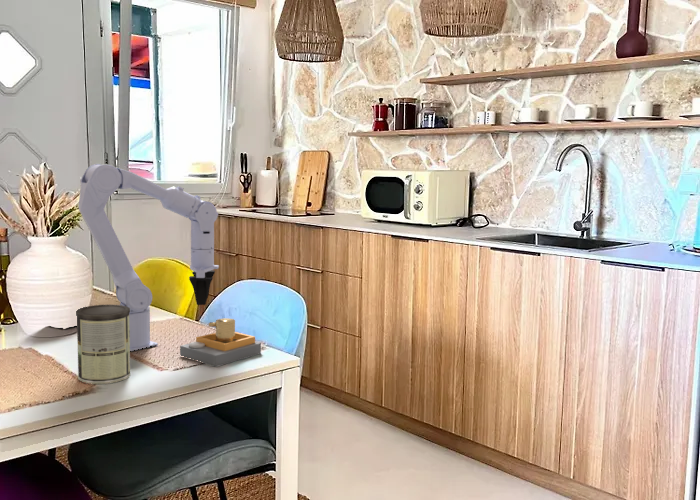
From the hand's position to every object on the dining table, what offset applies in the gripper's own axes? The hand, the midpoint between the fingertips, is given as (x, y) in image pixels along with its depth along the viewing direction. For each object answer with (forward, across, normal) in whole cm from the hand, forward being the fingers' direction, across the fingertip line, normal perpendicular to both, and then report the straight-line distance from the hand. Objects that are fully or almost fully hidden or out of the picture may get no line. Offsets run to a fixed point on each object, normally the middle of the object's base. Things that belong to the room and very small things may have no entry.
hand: (202, 301), depth 168 cm
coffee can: (+10, -30, +18) cm, 36 cm away
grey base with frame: (+9, -16, -5) cm, 19 cm away
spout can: (+9, -15, -6) cm, 19 cm away
